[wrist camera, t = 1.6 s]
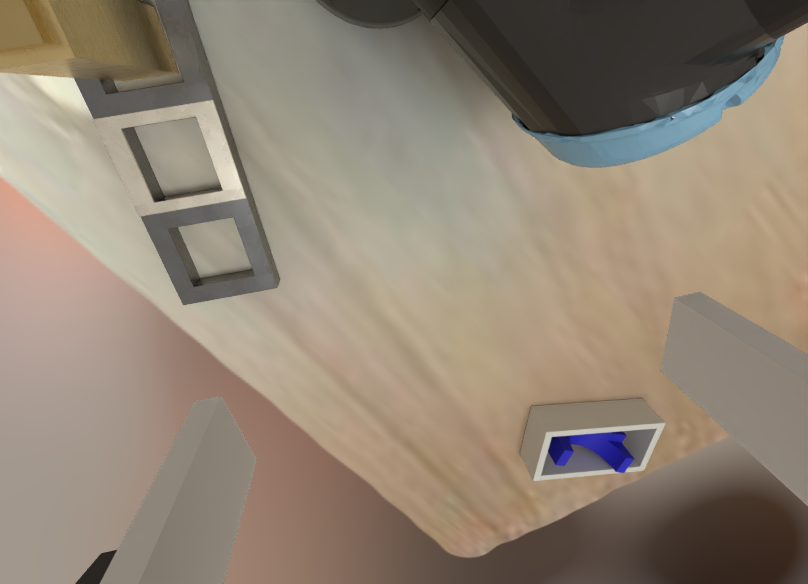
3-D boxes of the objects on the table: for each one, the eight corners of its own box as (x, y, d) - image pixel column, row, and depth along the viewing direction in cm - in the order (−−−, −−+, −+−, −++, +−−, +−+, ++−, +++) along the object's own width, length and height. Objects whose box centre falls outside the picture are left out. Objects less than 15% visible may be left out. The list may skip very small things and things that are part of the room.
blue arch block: (614, 420, 61) (640, 451, 55) (600, 441, 62) (623, 472, 57) (549, 411, 58) (570, 442, 52) (537, 432, 60) (555, 465, 54)
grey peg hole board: (42, -21, 29) (20, -30, 27) (174, -40, 30) (161, -50, 28) (190, 296, 42) (182, 306, 40) (280, 280, 43) (276, 288, 41)
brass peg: (97, 16, 31) (-93, -45, 17) (154, 8, 31) (10, -59, 18) (124, 81, 33) (-26, 70, 20) (178, 73, 33) (65, 56, 20)
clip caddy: (531, 406, 57) (546, 432, 52) (642, 398, 59) (665, 422, 54) (519, 453, 61) (533, 481, 57) (623, 444, 63) (643, 470, 59)
